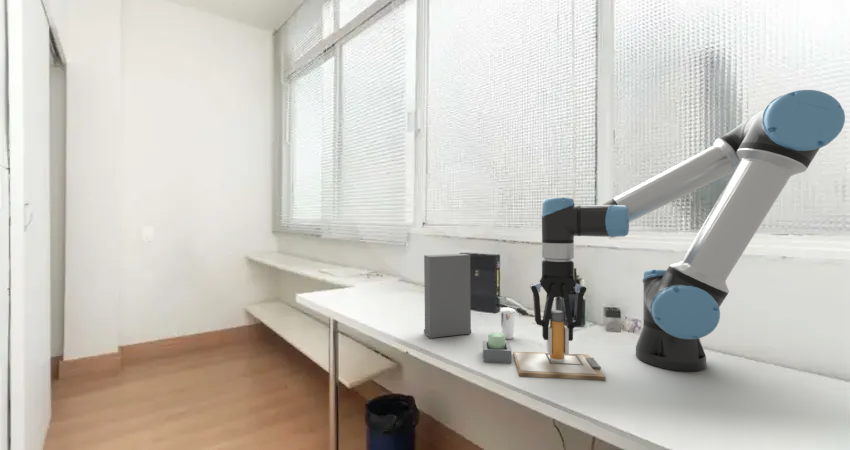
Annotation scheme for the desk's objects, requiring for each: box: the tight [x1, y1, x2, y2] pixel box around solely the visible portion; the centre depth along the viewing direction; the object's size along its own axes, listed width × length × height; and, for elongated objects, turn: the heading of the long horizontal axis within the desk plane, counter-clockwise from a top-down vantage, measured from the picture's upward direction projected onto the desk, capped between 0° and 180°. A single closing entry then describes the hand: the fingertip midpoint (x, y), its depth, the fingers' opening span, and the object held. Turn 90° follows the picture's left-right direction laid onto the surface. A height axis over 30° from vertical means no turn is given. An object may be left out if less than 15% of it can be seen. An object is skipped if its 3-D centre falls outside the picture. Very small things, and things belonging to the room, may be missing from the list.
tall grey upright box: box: [423, 253, 472, 339], centre depth 121 cm, size 14×6×25 cm, turn 108°
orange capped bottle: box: [549, 309, 566, 362], centre depth 96 cm, size 4×4×12 cm
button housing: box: [482, 340, 512, 364], centre depth 101 cm, size 7×7×3 cm
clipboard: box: [513, 351, 606, 381], centre depth 94 cm, size 19×14×1 cm
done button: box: [487, 332, 506, 349], centre depth 101 cm, size 4×4×4 cm
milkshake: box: [499, 305, 519, 340], centre depth 117 cm, size 4×5×10 cm
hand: (557, 352), depth 96 cm, fingers closed on orange capped bottle, 3 cm apart
